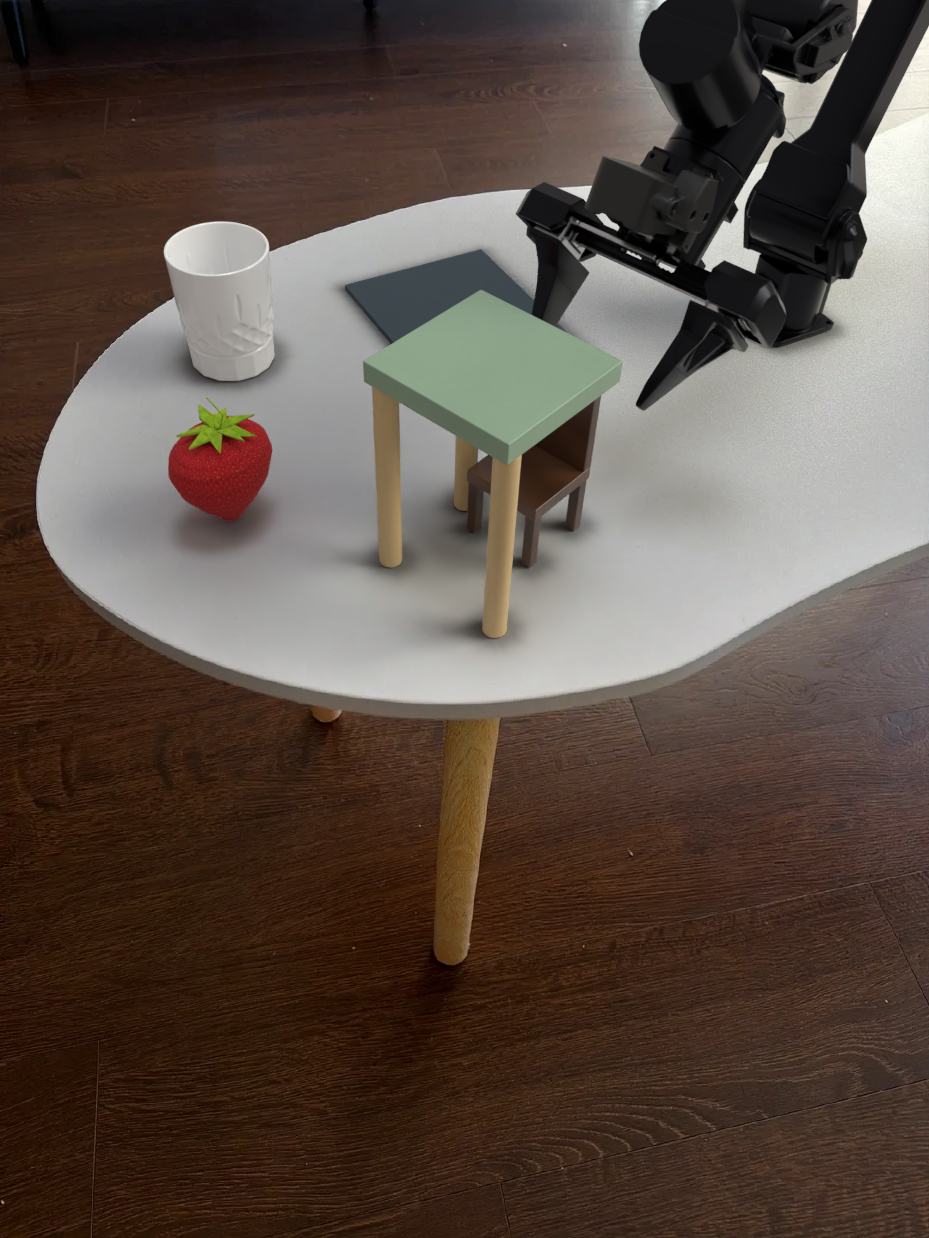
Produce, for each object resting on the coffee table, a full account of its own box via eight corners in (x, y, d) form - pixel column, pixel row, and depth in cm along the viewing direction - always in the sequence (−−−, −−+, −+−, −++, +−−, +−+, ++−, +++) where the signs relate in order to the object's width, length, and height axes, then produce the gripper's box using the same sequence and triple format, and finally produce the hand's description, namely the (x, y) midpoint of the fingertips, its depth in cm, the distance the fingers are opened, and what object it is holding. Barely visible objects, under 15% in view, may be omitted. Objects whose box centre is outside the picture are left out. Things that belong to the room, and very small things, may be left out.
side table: (472, 487, 81) (480, 289, 69) (591, 559, 76) (623, 360, 64) (372, 561, 76) (362, 360, 63) (493, 644, 71) (508, 444, 59)
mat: (481, 252, 103) (481, 249, 103) (585, 353, 93) (585, 349, 92) (344, 288, 98) (344, 284, 98) (438, 399, 88) (438, 395, 88)
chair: (517, 487, 81) (529, 350, 72) (582, 526, 79) (602, 388, 70) (464, 528, 78) (469, 390, 69) (529, 570, 75) (544, 432, 66)
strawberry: (162, 523, 77) (134, 409, 70) (245, 473, 81) (227, 360, 74) (215, 565, 75) (192, 451, 67) (298, 511, 79) (285, 398, 71)
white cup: (263, 393, 88) (249, 282, 80) (170, 379, 89) (147, 267, 81) (293, 338, 93) (282, 228, 85) (205, 325, 94) (186, 215, 86)
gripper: (545, 54, 68) (423, 283, 70) (813, 154, 60) (664, 407, 62) (605, 140, 78) (496, 338, 80) (840, 235, 70) (712, 451, 72)
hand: (583, 379), depth 73 cm, fingers open, 9 cm apart
